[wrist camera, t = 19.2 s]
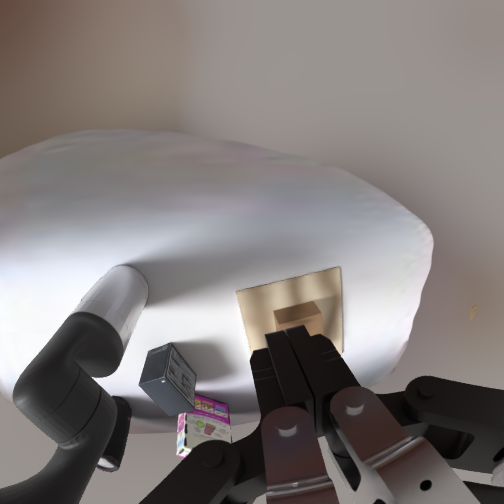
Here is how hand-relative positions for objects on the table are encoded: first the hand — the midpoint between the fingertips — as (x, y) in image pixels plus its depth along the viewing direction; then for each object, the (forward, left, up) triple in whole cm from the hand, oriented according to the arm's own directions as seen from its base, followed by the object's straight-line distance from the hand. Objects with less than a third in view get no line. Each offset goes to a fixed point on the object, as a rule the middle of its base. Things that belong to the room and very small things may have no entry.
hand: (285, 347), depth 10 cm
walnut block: (+8, -20, -34) cm, 40 cm away
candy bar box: (-16, -43, -37) cm, 59 cm away
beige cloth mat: (+8, -26, -37) cm, 46 cm away
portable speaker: (-39, -41, -37) cm, 68 cm away
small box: (-19, -29, -37) cm, 51 cm away
